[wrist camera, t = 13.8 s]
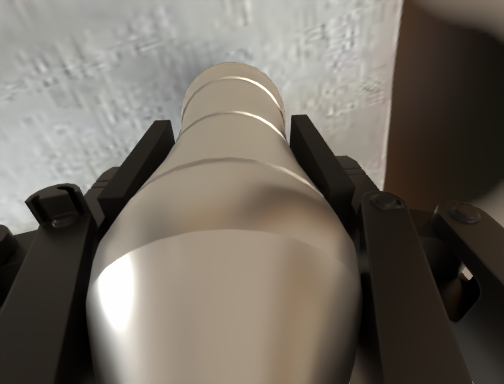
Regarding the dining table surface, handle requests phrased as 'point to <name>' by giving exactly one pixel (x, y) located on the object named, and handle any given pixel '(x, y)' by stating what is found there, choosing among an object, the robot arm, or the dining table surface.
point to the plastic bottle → (226, 256)
